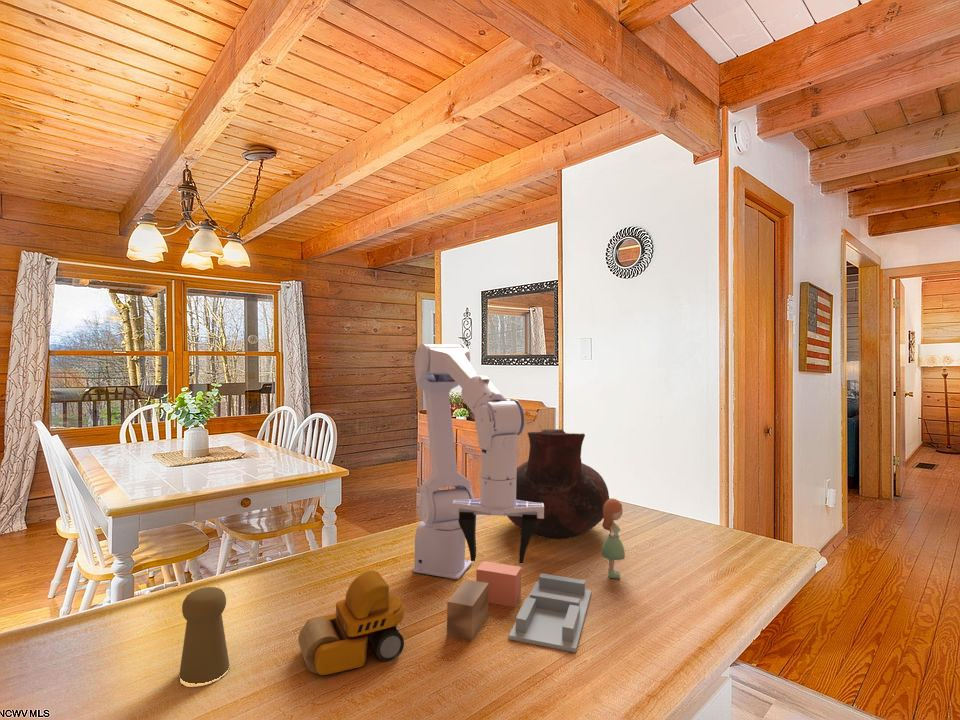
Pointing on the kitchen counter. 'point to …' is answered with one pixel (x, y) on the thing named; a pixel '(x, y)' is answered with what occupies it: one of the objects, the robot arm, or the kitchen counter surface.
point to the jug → (560, 485)
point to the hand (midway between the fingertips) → (497, 559)
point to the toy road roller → (354, 628)
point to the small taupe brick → (467, 610)
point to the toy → (612, 535)
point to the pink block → (501, 582)
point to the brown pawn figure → (204, 636)
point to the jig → (553, 613)
